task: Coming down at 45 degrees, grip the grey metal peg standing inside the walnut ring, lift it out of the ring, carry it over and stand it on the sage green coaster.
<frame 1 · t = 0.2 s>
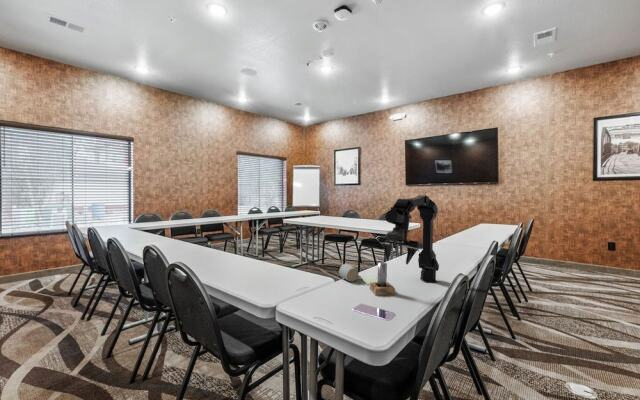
hand: (396, 262, 125), 15 cm above the table, tool pointing down, fingers open, 9 cm apart
peg: (382, 277, 132), in the ring stand
ring stand: (381, 291, 132), on the table
ceramic mug: (350, 280, 150), on the table
coaster: (373, 281, 147), on the table
mobile phone: (373, 313, 109), on the table
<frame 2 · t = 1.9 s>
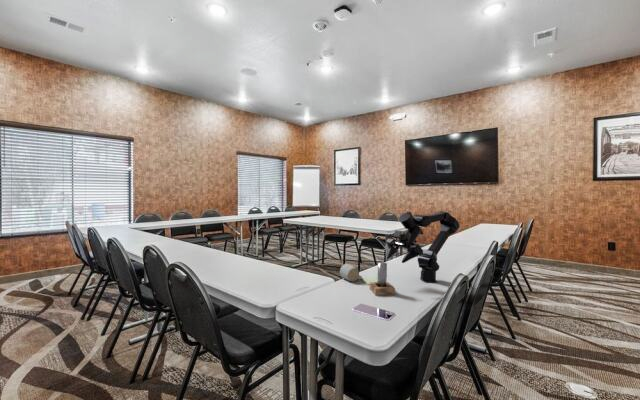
hand: (394, 260, 136), 13 cm above the table, tool tilted 45°, fingers open, 9 cm apart
nothing on the table moved.
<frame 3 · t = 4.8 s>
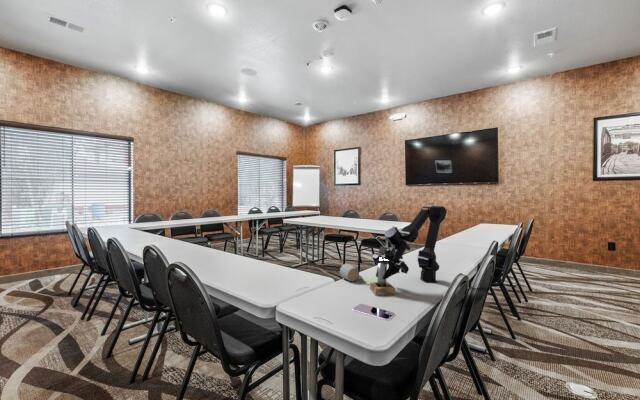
hand: (379, 277, 131), 7 cm above the table, tool tilted 45°, fingers closed on peg, 4 cm apart
peg: (382, 277, 132), in the ring stand, touching gripper
ceramic mug: (351, 279, 150), on the table, touching coaster
everything else where it was.
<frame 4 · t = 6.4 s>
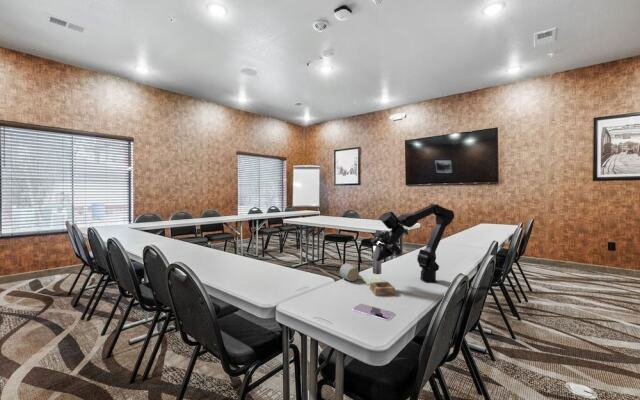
hand: (374, 259, 138), 13 cm above the table, tool tilted 45°, fingers closed on peg, 4 cm apart
peg: (377, 259, 138), point 13 cm above the table, touching gripper
ceramic mug: (351, 279, 150), on the table
everything else where it was.
when the fingers open (8 cm above the table, at t = 8.4 s): peg stays where it is, resting on coaster.
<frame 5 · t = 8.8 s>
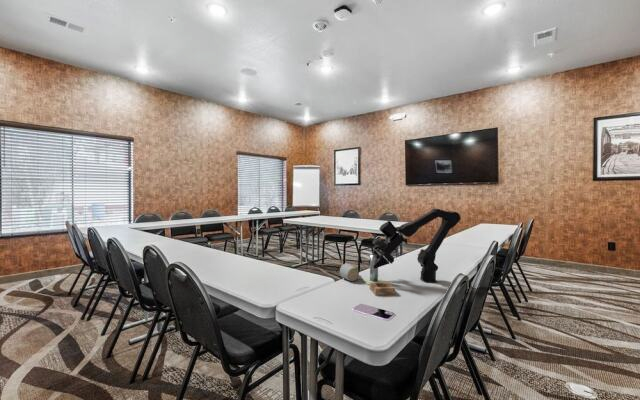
hand: (371, 265, 147), 8 cm above the table, tool tilted 45°, fingers open, 9 cm apart
peg: (374, 267, 147), on the coaster
everything else where it was.
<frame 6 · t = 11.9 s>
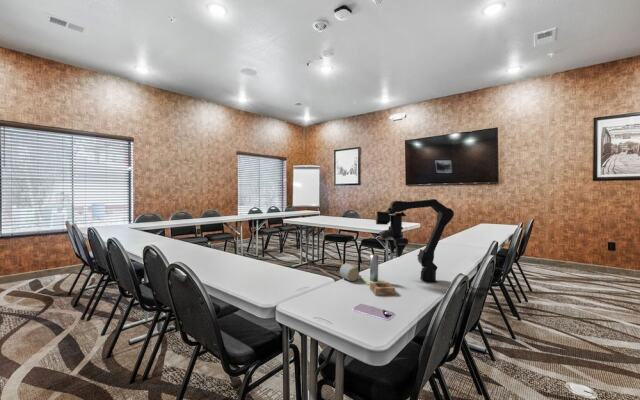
hand: (395, 254, 150), 13 cm above the table, tool pointing down, fingers open, 9 cm apart
nothing on the table moved.
at the end: peg inside the target area on the coaster (0.1 cm from its centre), point 6.9 cm above the coaster's base; peg tilted 1°; the gripper is holding nothing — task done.
